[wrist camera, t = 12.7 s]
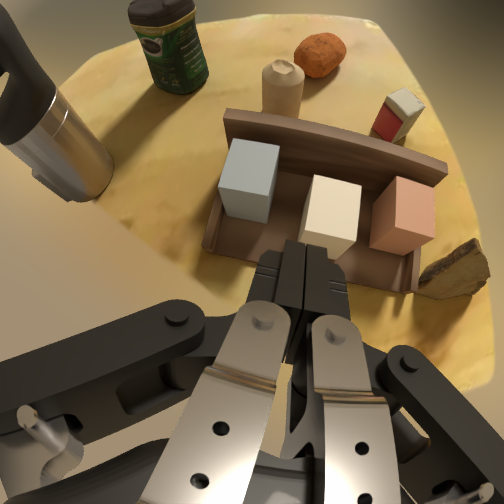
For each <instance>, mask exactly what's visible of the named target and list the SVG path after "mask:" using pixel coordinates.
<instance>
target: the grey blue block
mask: <svg viewBox="0 0 504 504" xmlns="http://www.w3.org/2000/svg"><path fill="white" fill-rule="evenodd" d="M279 149H280V146H277V145H272V144H266V143H260V142H254V141H248V140H242V139H235V138H233V141H232V144H231V147H230V150H229V153H228V156H227V159H226V162H225V165H224V168H223V172H222V175H221V178H220V181H219V184H218V189H219V192H220V195H221V198H222V202H223V205H224V208H225V211H226V214H227V216H231V217H236V218H241V219H246V220H251V221H255V222H260V223H265V224H267V222H268V217H269V213H270V208H271V204H272V199H273V195H274V191H275V186H276V182H277V172H278V160H279Z"/></svg>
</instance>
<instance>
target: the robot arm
mask: <svg viewBox="0 0 504 504" xmlns="http://www.w3.org/2000/svg"><path fill="white" fill-rule="evenodd" d="M4 72H8V73H9V78H8V81H7V84H6V86H5V89H4V91H3V93H2V95H1V97H0V143H1V144H3V145H4V146H5V147H6V148H7V149H9V150H10V151H11V152H12V153H13V154H15V155H16V156H17V157H19V159H21V160H22V161H23V162H25V163H26V164H27V165H28V166H29V167H31V168H32V176H33V177H34V178H35V179H37V180H38V181H39V182H41V183H42V184H43V185H45V186H46V187H47V188H49V189H50V190H51V191H53V192H54V193H56V194H57V195H58V196H60V197H61V198H63V199H64V200H65V201H67V202H69V201H72V200H73V201H76V202H87V201H90V200H92V199H94V198H95V197H97V196H98V195H99V194H100V193H101V192H102V191H103V190H104V189H105V188H106V187H107V185H108V183H109V182H110V180H111V177H112V174H113V170H114V163H113V159H112V157H111V156H110V154H109V153H108V152H107V150H106V149H105V148H104V147H103V146H102V144H101V143H100V142H99V141H98V139H97V138H96V137H95V136H94V134H93V133H92V132H91V131H90V129H89V128H88V127H87V126H86V124H85V123H84V122H83V121H82V119H81V118H80V117H79V115H78V114H77V113H76V112H75V110H74V109H73V108H72V106H71V105H70V104H69V103H68V101H67V100H66V99H65V97H64V96H63V95H62V93H61V92H60V91H59V89H58V88H57V87H56V86H55V84H54V83H53V82H52V80H51V79H50V78H49V76H48V75H47V74H46V73H45V72H44V70H43V69H42V68H41V66H40V65H39V63H38V62H37V61H36V60H35V58H34V56H33V55H32V53H31V51H30V50H29V48H28V47H27V45H26V43H25V41H24V40H23V38H22V36H21V34H20V33H19V31H18V29H17V27H16V25H15V24H14V22H13V20H12V19H11V17H10V15H9V14H8V12H7V11H6V9H5V8H4V7H3V6H2V5H1V4H0V77H1V76H2V74H4ZM285 356H286V360H285V363H286V364H291V365H293V371H292V375H291V378H290V380H289V382H288V389H287V411H286V429H285V439H284V443H283V447H282V450H281V454H280V458H278V457H275V456H273V455H270V454H268V453H266V452H263V451H261V450H259V448H260V445H261V442H262V438H263V435H264V431H265V428H266V424H267V421H268V417H269V414H270V410H271V406H272V403H273V399H274V395H275V391H276V381H277V377H278V373H279V369H280V365H281V363H283V361H284V358H285ZM190 396H191V397H190ZM188 397H190V399H189V401H188V403H187V405H186V407H185V409H184V411H183V413H182V415H181V417H180V419H179V421H178V423H177V425H176V427H175V429H174V431H173V433H172V435H171V437H170V438H166V439H160V440H155V441H150V442H148V443H145V444H142V445H140V446H137V447H135V448H133V449H131V450H129V451H127V452H125V453H123V454H121V455H119V456H117V457H115V458H112V459H110V460H108V461H106V462H104V463H102V464H99V465H97V466H95V467H92V468H90V469H88V470H86V471H83V472H81V473H78V474H76V475H73V476H71V477H68V478H66V479H63V480H62V478H63V477H64V475H65V474H66V473H67V472H69V471H71V470H72V469H74V468H76V467H77V466H78V465H79V464H80V462H81V460H82V458H83V453H84V447H83V445H86V444H89V443H91V442H94V441H96V440H99V439H101V438H103V437H106V436H108V435H111V434H113V433H115V432H118V431H120V430H122V429H124V428H126V427H129V426H131V425H133V424H135V423H138V422H140V421H142V420H144V419H146V418H148V417H150V416H152V415H154V414H157V413H159V412H161V411H162V410H165V409H167V408H169V407H171V406H173V405H175V404H177V403H178V402H180V401H182V400H184V399H186V398H188ZM402 407H404V408H405V410H406V411H407V412H408V413H409V414H410V415H411V416H412V417H413V418H414V420H415V421H416V422H417V423H418V424H419V425H420V426H421V428H422V429H423V430H424V431H425V432H426V433H427V434H428V435H429V437H430V438H425V437H423V436H421V435H420V434H419V433H418V431H417V430H416V429H415V428H414V427H413V426H412V424H410V422H409V421H408V420H407V419H406V418H405V417H404V415H403V414H402V413H401V412H400V411H399V410H400V409H401V408H402ZM0 478H1V481H2V484H3V486H4V489H5V491H6V494H7V497H8V500H7V501H6V502H5V503H4V504H415V503H414V502H413V500H412V499H411V498H410V497H409V495H408V494H407V493H406V492H405V490H404V489H403V488H402V487H401V485H400V484H399V482H400V483H401V484H402V486H403V487H404V488H405V489H406V490H407V492H408V493H409V494H410V495H411V496H412V497H413V499H414V500H415V501H416V502H417V503H418V504H504V440H503V439H502V438H501V437H500V436H499V434H498V433H497V432H496V431H495V430H494V429H493V428H492V426H490V424H489V423H488V422H487V421H486V420H485V419H484V418H483V417H482V415H481V414H480V413H479V412H478V411H477V410H476V409H475V408H474V407H473V406H472V405H471V404H470V403H469V401H468V400H467V399H466V398H465V397H464V396H463V395H462V394H461V393H460V392H459V391H458V390H457V389H456V388H455V387H454V386H453V385H452V384H451V382H450V381H449V380H448V379H447V378H446V377H445V376H444V375H443V374H442V373H441V372H440V371H439V370H438V369H437V368H436V367H435V366H434V365H433V364H432V363H431V362H430V361H429V360H428V359H427V358H426V357H425V356H424V355H423V354H422V353H421V352H420V351H418V350H417V349H415V348H413V347H411V346H407V345H398V346H395V347H393V348H392V349H391V350H390V351H389V352H388V354H387V353H385V352H383V351H380V350H378V349H376V348H373V347H371V346H369V345H367V344H366V343H364V342H363V341H362V338H361V334H360V332H359V330H358V328H357V327H356V326H355V325H354V324H353V323H352V322H351V319H350V310H349V301H348V293H347V286H346V278H345V273H344V272H343V270H342V269H341V268H340V266H339V265H338V264H334V263H330V262H328V254H327V248H325V247H320V246H316V245H311V244H307V245H306V243H302V242H297V241H293V240H288V239H286V240H285V245H284V249H283V252H279V251H274V250H269V249H268V250H267V251H266V252H264V253H263V254H262V255H261V256H260V258H259V262H258V265H257V268H256V271H255V274H254V278H253V281H252V284H251V287H250V290H249V294H248V297H247V300H246V303H245V304H244V305H242V306H241V307H240V308H239V310H238V312H236V313H234V314H231V315H228V316H220V317H205V315H204V313H203V311H202V310H201V308H200V307H198V306H197V305H196V304H194V303H192V302H189V301H186V300H178V299H176V300H168V301H165V302H162V303H159V304H157V305H154V306H152V307H149V308H146V309H144V310H141V311H138V312H136V313H133V314H131V315H128V316H125V317H123V318H120V319H117V320H115V321H112V322H109V323H107V324H104V325H101V326H99V327H96V328H93V329H91V330H88V331H85V332H82V333H80V334H77V335H74V336H71V337H69V338H66V339H63V340H61V341H58V342H55V343H53V344H49V345H47V346H44V347H41V348H39V349H36V350H33V351H30V352H27V353H25V354H22V355H19V356H16V357H13V358H11V359H8V360H5V361H2V362H0Z"/></svg>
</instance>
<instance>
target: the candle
mask: <svg viewBox="0 0 504 504" xmlns="http://www.w3.org/2000/svg"><path fill="white" fill-rule="evenodd" d="M304 78H305V74H304V71H303V70H302V69H301V68H300V67H299V66H297V65H296V64H294V63H292V62H289V61H285V60H279V59H278V60H275V61H274V62H272V63H270V64H268V65H267V66H265V67H264V69H263V71H262V108H263V113H267V114H273V115H279V116H285V117H290V118H295V119H298V117H299V112H300V105H301V99H302V92H303V85H304Z"/></svg>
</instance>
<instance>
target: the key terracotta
mask: <svg viewBox="0 0 504 504" xmlns="http://www.w3.org/2000/svg"><path fill="white" fill-rule="evenodd" d="M434 238H435V198H434V188H432V187H429V186H426V185H423V184H420V183H417V182H414V181H411V180H408V179H405V178H402V177H399V176H396V177H395V178H394V180H393V181H392V182H391V183H390V184H389V186H388V187H387V188H386V189H385V190H384V192H383V193H382V194H381V195H380V196H379V198H378V199H377V200H376V201H375V202H374V203H373V208H372V221H371V231H370V241H369V248H373V249H377V250H381V251H385V252H390V253H394V254H398V255H402V256H404V255H406V254H407V253H409V252H411V251H413V250H415V249H416V248H418V247H420V246H422V245H424V244H425V243H427V242H429V241H431V240H432V239H434Z"/></svg>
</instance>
